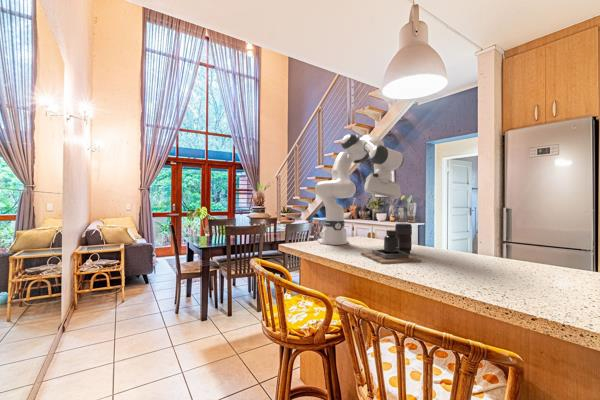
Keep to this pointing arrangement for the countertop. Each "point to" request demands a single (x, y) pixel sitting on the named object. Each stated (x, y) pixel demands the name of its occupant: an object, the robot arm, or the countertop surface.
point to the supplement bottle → (391, 242)
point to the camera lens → (404, 237)
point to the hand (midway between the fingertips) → (383, 202)
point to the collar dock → (390, 257)
